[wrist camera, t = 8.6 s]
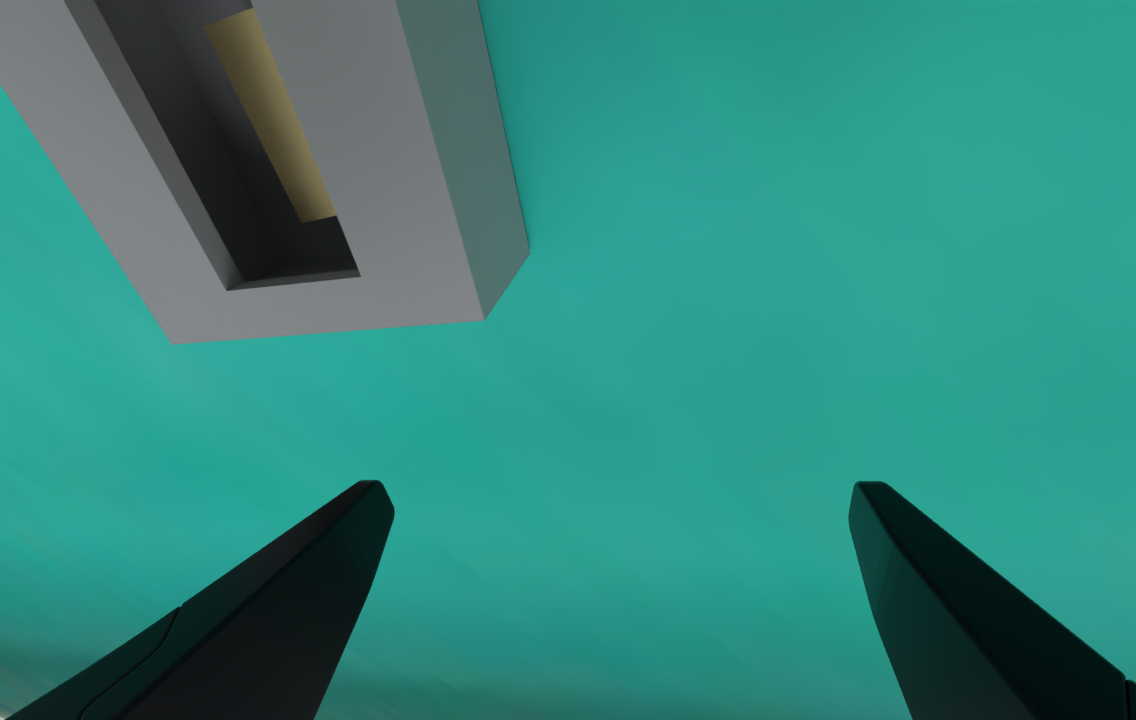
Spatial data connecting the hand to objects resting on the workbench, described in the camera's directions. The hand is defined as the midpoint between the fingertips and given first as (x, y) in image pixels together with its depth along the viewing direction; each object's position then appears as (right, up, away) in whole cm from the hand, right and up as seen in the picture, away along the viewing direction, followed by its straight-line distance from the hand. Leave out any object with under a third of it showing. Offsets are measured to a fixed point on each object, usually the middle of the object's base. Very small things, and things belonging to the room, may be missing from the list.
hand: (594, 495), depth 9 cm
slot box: (-9, +12, +9) cm, 17 cm away
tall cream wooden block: (-9, +12, +8) cm, 17 cm away
